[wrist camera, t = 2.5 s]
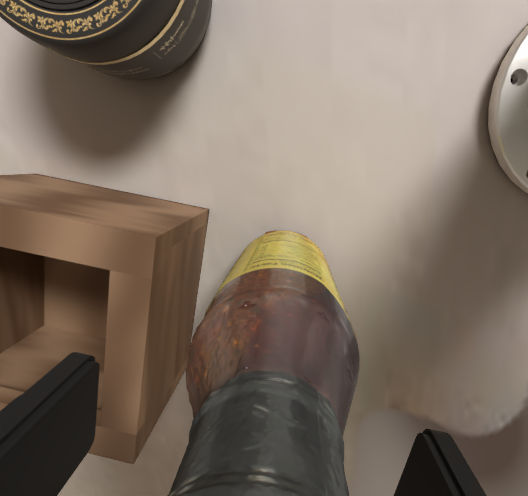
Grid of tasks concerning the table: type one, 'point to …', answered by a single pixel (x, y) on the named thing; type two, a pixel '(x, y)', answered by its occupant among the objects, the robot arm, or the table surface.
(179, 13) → the jar
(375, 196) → the table surface
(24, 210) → the walnut box
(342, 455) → the sauce bottle
